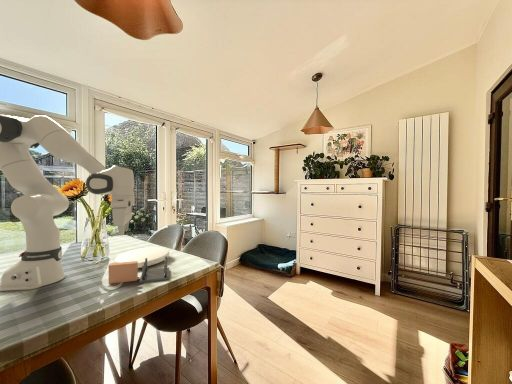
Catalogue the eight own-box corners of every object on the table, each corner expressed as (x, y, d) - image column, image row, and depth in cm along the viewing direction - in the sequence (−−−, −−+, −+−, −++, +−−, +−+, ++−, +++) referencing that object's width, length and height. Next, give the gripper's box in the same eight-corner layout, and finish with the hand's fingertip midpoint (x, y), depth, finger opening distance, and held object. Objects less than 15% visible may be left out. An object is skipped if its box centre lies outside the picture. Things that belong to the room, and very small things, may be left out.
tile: (108, 283, 99) (108, 265, 99) (110, 281, 102) (110, 263, 102) (136, 280, 103) (136, 263, 103) (137, 278, 106) (137, 260, 105)
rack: (139, 283, 99) (139, 267, 99) (143, 272, 112) (143, 258, 111) (168, 279, 104) (168, 264, 103) (169, 269, 116) (169, 255, 116)
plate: (131, 265, 108) (103, 256, 122) (133, 278, 109) (104, 268, 123) (178, 246, 132) (150, 240, 146) (179, 257, 133) (151, 250, 146)
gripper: (120, 200, 110) (120, 229, 110) (109, 203, 91) (109, 238, 91) (135, 200, 112) (135, 228, 113) (127, 203, 93) (127, 237, 93)
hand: (123, 232), depth 102 cm, fingers open, 8 cm apart
